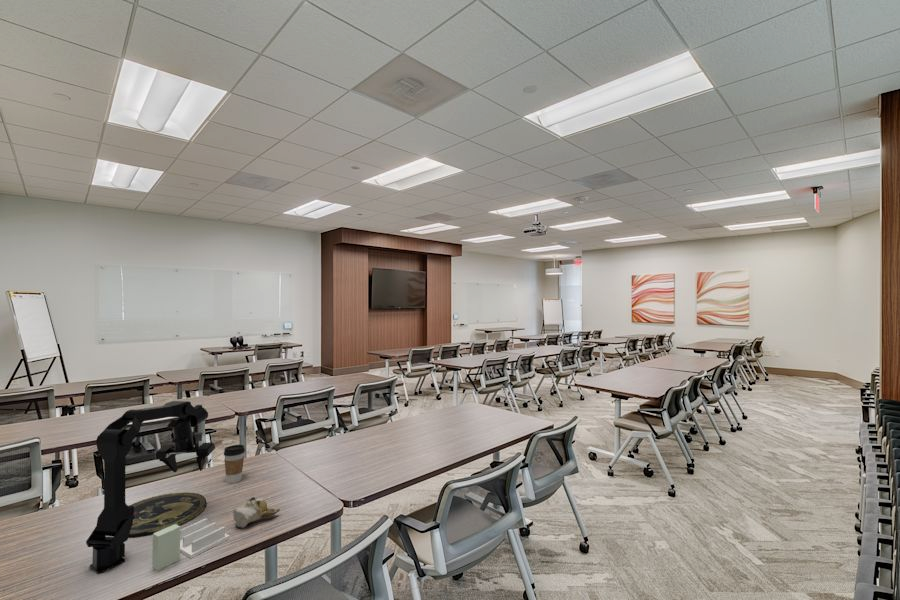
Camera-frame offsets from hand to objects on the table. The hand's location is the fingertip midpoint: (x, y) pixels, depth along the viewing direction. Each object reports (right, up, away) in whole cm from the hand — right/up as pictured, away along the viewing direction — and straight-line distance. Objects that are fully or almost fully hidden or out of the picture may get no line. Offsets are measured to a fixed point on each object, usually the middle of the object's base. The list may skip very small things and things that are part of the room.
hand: (188, 471), depth 149 cm
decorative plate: (-9, -15, -3) cm, 18 cm away
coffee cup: (+3, -16, +26) cm, 30 cm away
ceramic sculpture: (+28, -15, -7) cm, 33 cm away
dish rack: (+17, -15, -20) cm, 30 cm away
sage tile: (+14, -14, -31) cm, 37 cm away
